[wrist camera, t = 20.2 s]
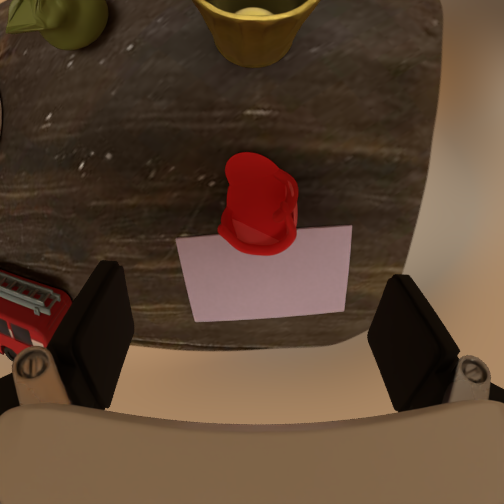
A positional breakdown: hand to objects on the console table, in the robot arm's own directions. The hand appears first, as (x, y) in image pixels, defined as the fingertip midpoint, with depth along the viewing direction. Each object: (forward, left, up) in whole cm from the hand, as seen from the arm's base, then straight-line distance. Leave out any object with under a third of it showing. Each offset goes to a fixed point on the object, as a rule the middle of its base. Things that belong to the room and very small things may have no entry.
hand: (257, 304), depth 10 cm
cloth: (+1, -10, -17) cm, 20 cm away
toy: (-35, -15, -13) cm, 40 cm away
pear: (-12, +16, -17) cm, 26 cm away
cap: (0, -3, -11) cm, 11 cm away
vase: (+1, +12, -17) cm, 21 cm away
